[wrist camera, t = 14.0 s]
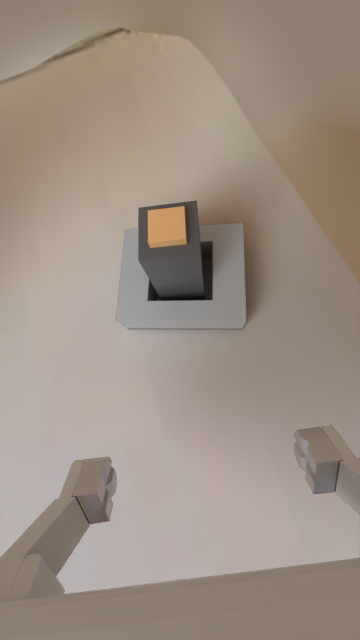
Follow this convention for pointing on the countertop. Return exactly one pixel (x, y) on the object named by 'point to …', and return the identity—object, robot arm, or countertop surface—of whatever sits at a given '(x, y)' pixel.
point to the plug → (172, 250)
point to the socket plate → (210, 314)
